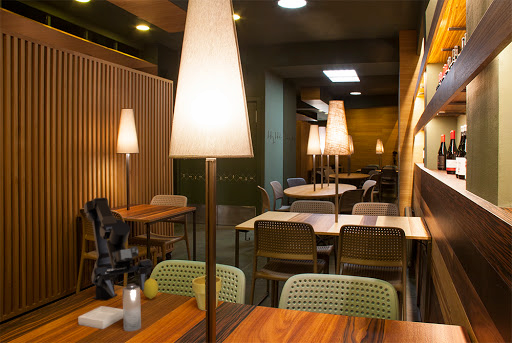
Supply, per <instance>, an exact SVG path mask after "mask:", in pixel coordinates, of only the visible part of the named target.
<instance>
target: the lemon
mask: <svg viewBox="0 0 512 343" xmlns="http://www.w3.org/2000/svg"><path fill="white" fill-rule="evenodd" d="M158 293H159V284H158V282H157V281H156V279H154V278H152V277H150V278H148V279H147V280H146V279H145V282H144V291H143V296H145V297H146V298H147V299H149V300H152V299H153V298H155V297H156V296H157V295H158Z"/></svg>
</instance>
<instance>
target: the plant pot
mask: <svg viewBox="0 0 512 343" xmlns="http://www.w3.org/2000/svg"><path fill="white" fill-rule="evenodd" d="M205 276H206V275H204V276H198V277H195V278H193V279H192V281H191V288H192V292H193V293H194V296H195V300H196V303H197V307H198V309H199V310H201V311H206V310H205ZM215 276H216V275H215ZM222 284H223V283H222V278H221V277H219V276H218V275H217V276H216V308H218V303H219V297H220V293H221V292H220V291H221V290H222V288H223V287H222V286H223V285H222ZM216 308H215V309H216Z"/></svg>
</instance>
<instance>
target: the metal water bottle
mask: <svg viewBox="0 0 512 343" xmlns="http://www.w3.org/2000/svg"><path fill="white" fill-rule="evenodd" d="M122 309H123V318H122V319H123V331H126V332H134V331H138V330H140V329H141V328H142V316H141V313H142V312H141V288H140V285H137V284H136V283H128V284H127V285H126V286H125V287H123V288H122Z"/></svg>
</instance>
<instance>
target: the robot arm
mask: <svg viewBox="0 0 512 343" xmlns="http://www.w3.org/2000/svg"><path fill="white" fill-rule="evenodd" d="M83 209H84V210H83V211H84V214H85V215H86V219H87V220H88V221H89V222H90V223H91V224H92V230H93V237H94V238H93V239H94V243H95V250H96V261H95V264H94V265H93V267H94V268H93V269H92V273H91V284H92V285H95V296H92V298H93V299H94V300H100V301H108V300H110V299H113V298H115V297H116V296H117V297H118V293H115V282H117V281H118V280H119V275H123V274H127V273H135V272H136V274H137V280H138V284H139V287H140V291H141V292H143V291H144V283H145V281H146V278H147V276H148V275H149V274H150V273H151V271H152V268H153V265H154V264H153V261H152V260H151V259H150V258H147V259H141V260H139V261H138V263H137V264H136V265H132V264H133V260H134V259H135V258H136V257H138V256H139V253H140V252H139V248H138V246H131V247H130V248H127V247H126V243H127V241H128V238H129V235H130V232H131V226H130V225H129V224H128V223H127V222H125V221H123V219H122V218H121V219H119V218H117V217H115V215H114V214H113V212H112V209H111V207H110V206H109V199H108V198H107V197H95V198H93V199H90V200H89V201H86V202H85V203H84V206H83Z"/></svg>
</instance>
